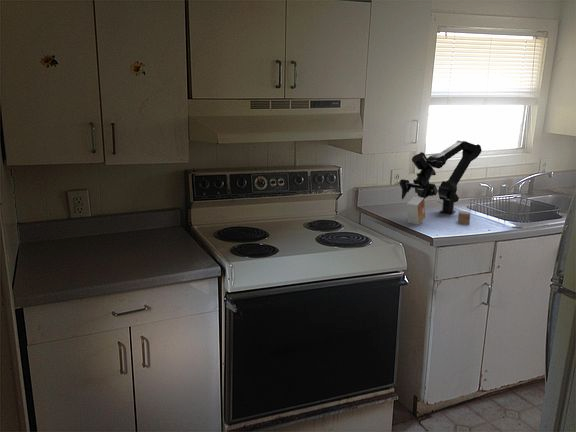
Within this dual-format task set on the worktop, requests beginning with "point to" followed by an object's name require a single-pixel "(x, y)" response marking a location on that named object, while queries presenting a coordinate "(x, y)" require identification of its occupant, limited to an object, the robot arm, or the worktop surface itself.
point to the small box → (416, 210)
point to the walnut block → (463, 217)
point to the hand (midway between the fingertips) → (410, 200)
